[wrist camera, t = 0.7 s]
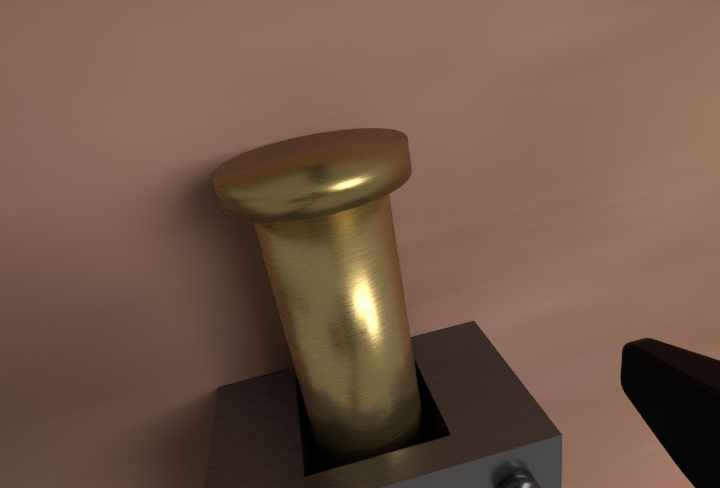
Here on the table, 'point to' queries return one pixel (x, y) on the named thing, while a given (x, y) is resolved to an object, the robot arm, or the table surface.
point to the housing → (406, 466)
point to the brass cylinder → (336, 281)
